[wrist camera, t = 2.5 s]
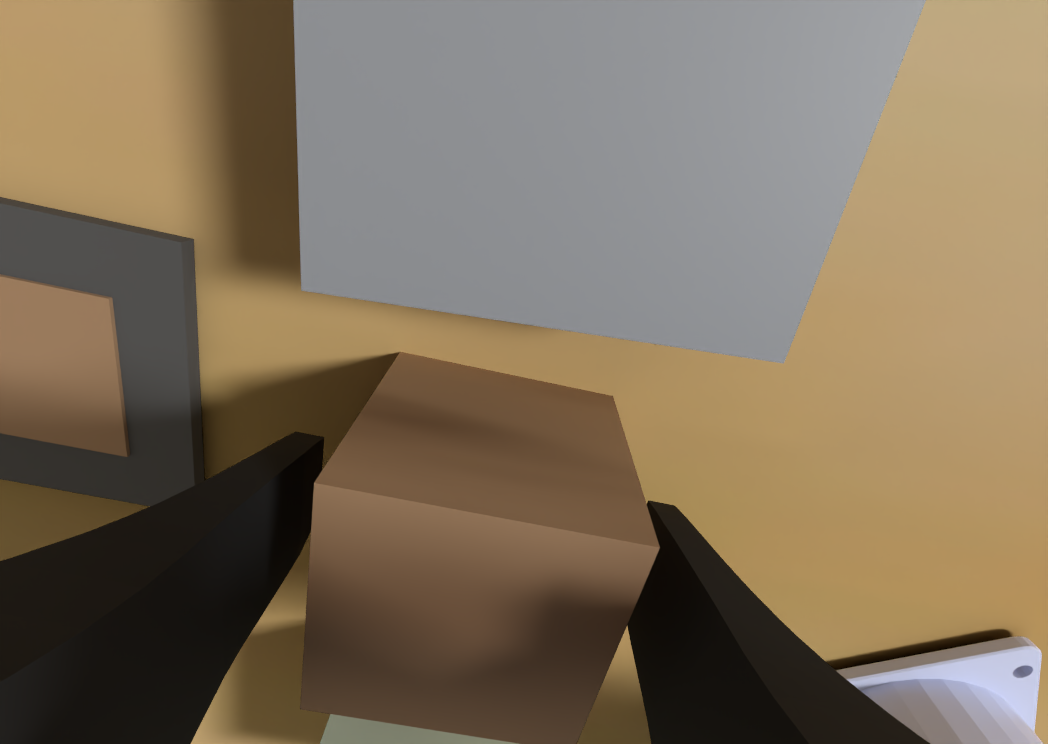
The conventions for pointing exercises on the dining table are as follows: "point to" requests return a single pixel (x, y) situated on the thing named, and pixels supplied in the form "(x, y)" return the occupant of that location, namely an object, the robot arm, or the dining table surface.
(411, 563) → the walnut block
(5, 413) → the card
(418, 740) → the sage block
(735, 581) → the robot arm
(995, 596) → the dining table surface
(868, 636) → the dining table surface
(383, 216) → the slate base
